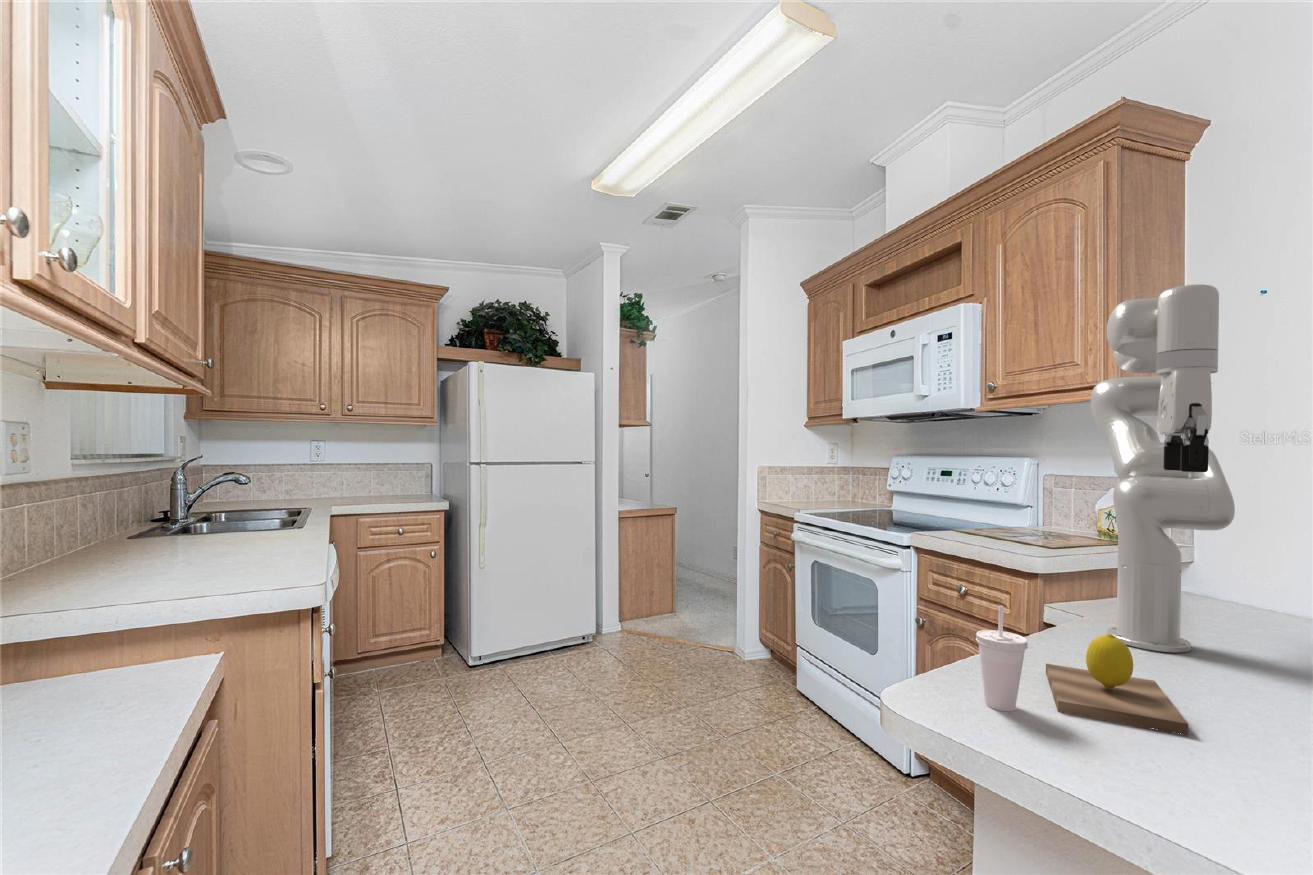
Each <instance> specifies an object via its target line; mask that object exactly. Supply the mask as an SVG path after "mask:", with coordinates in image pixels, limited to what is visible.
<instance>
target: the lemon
mask: <svg viewBox="0 0 1313 875" xmlns="http://www.w3.org/2000/svg"><path fill="white" fill-rule="evenodd" d="M1085 662H1086V663H1085V664H1086V668H1087V670H1089V672H1090V674H1091V675H1092V676H1093V678H1094V679H1096V680H1097V681H1098V682H1100V683H1102V684H1103V685H1104V687H1105V688H1106V689H1113V688H1114V687H1116V686H1121V685H1123V684H1125V683H1126V682H1128V680H1129V679H1130V677H1132V676H1133V672H1134V659H1133V655H1132V653H1131V650H1130V648H1129V647H1128V645H1126V644H1124V643H1123V642H1122V641H1121V640H1119V639H1117V638H1115V637H1114V636H1113V635H1112V634H1107V633H1106V634H1105V635H1101V636H1097V637H1095V638H1094V639H1092V641H1090V643H1089V645H1088V647H1087V650H1086V655H1085Z"/></svg>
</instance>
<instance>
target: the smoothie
mask: <svg viewBox="0 0 1313 875" xmlns="http://www.w3.org/2000/svg"><path fill="white" fill-rule="evenodd" d="M997 623H998V624H997V625H998V628H997V630H996V629H983V630H979V631H977V632H976V634H975V636H976V637H975V641H976V642H977V643H978V649H979V659H980V667H981V677H982V686H983V694H984V697H983V698H984V703H985V705H986V706H987V705H988V706H987V707H988V708H991V709H994V710H997V711H1001V712H1014V711H1015V710H1016V706H1017V700H1018V695H1019V689H1020V681H1021V676H1022V670H1023V664H1024V658H1025V651H1026V650H1027V649H1029V645H1028V639H1027V638H1026V637H1024V636H1022V635H1020V634H1017V633H1013V632H1009V631H1004V606H1003V605H998V622H997Z"/></svg>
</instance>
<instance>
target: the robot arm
mask: <svg viewBox="0 0 1313 875" xmlns="http://www.w3.org/2000/svg"><path fill="white" fill-rule="evenodd" d="M1219 311H1220V293H1219V290H1218V288H1217V287H1215V286H1213V285H1211V284H1210V285H1209V284H1201V283H1199V284H1186V285H1181V286H1175V287H1171V288H1168V289H1166V290H1164V291H1163V292H1161V294H1159V296H1158V297H1147V298H1135V299H1129V300H1124V301H1122V302H1120V303H1119V304H1117V305H1116V307H1114V309H1113V310H1112V312H1111V314H1110V315H1109V317H1108V320H1107V325H1106V339H1107V342H1108V344H1109V347H1110V348H1111V349H1112V351H1113V353H1112V354H1113V360H1114V363H1115V364H1116V365H1117V367H1119V369H1122V370H1123V371H1125V372H1128V373H1133V374H1156V376H1124V377H1114V378H1110V379H1109V378H1108V379H1106V380H1103V381H1100V382H1098V383H1097V384H1096V385H1095V386H1094V387H1093V389H1092V391H1091V394H1090V409H1091V415H1092V418H1093V420H1094V423H1095V425H1096V427H1097V428H1098V430H1099V432H1100V434H1101V435H1102V436H1103V437H1104V438H1105V440H1106V441H1107V443H1108V445H1109V450H1110V453H1111V458H1112V463H1113V466H1114V471H1115V474H1116V476H1117V479H1119V482H1118V483H1116V485H1115V486H1114V489H1113V495H1112V496H1113V498H1112V499H1113V506H1114V507H1113V508H1114V514H1115V519H1116V528H1117V582H1116V583H1117V584H1116V585H1117V586H1116V587H1117V592H1116V593H1117V594H1116V595H1117V597H1116V626H1113V627H1108V628H1107V629H1106V634H1112V635H1113V636H1114V637H1115V638H1117V639H1119V640H1121V641H1122V642H1123V643H1124V644H1126V646H1130V647H1134V648H1138V649H1143V650H1149V651H1154V652H1162V653H1180V654H1181V653H1187V652H1190V651H1191V649H1192V644H1191V642H1190V641H1188V640H1187V639H1185V638H1183V637H1181V616H1182V615H1181V613H1182V605H1181V604H1182V603H1181V601H1182V553H1181V550H1180V548H1179V546H1178V545H1177V544H1176V543H1175V541H1173V539H1172V538H1170V537H1169V536H1168V534H1167V533H1166V532H1165V529H1180V530H1192V531H1195V530H1196V531H1219V530H1220V531H1221V530H1223V529H1226V528H1227V527H1229V526H1230V525H1231V524H1232V522H1233V521H1234V518H1235V513H1236V512H1235V511H1236V509H1235V501H1234V498H1233V494H1232V491H1231V489H1230V486H1229V484H1228V482H1227V478H1226V477H1225V474H1224V472H1223V469H1222V467H1221V464H1220V462H1219V460H1218V457H1217V456H1216V454H1215V452H1214V451H1213V450H1212V449H1210V448H1209V444H1210V441H1209V436H1208V435H1209V431H1211V428H1212V418H1213V415H1212V414H1213V398H1212V397H1213V395H1212V394H1213V393H1212V392H1213V391H1212V378H1211V377H1212V376H1211V374H1216V373H1219V372H1218V371H1219V370H1218V369H1219V336H1220V335H1219V326H1220V322H1219V321H1220V318H1219V317H1220V312H1219ZM1137 416H1138V417H1137ZM1139 416H1141V417H1142V416H1143V417H1144V416H1145V417H1146V416H1147V417H1148V416H1149V417H1151V416H1152V417H1157V424H1156V430H1155V428H1153V427H1152V426H1151V425H1150V424H1148V423H1147V422H1145V421H1144V420H1143V419H1140V418H1139ZM1158 434H1159V435H1162V436H1163V435H1164V441H1160V437H1159V435H1158Z"/></svg>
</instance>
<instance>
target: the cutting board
mask: <svg viewBox="0 0 1313 875" xmlns="http://www.w3.org/2000/svg"><path fill="white" fill-rule="evenodd" d="M1045 675H1046V679H1047V680H1048V685H1049V688H1050V691H1051V695H1052V697H1053V700H1054V701H1053V702H1054V703H1055V708H1056V710H1057V712H1058V713H1064V714H1069V715H1074V716H1075V715H1076V716H1080V717H1085V718H1091V719H1097V720H1101V721H1102V720H1103V721H1106V722H1107V721H1108V722H1113V723H1118V724H1123V725H1128V726H1133V727H1138V728H1139V727H1140V728H1144V727H1145V729H1149V728H1154V729H1158V730H1157V731H1159V730H1163V731H1162V732H1165V731H1167V732H1166V733H1170V732H1175V733H1179V734H1178V735H1181V734H1183V735H1182V736H1186V735H1188V736H1189V723H1188V722H1187V720H1186V719H1185V718H1184V716H1183V714H1181V713H1180V711H1179V710H1178V708H1176V706H1175V705H1174V703H1173V702H1172V701H1171V700H1170V699H1169V697H1168V696H1167V694H1165V692H1164V691H1163V689H1162V688H1161V687H1160V686H1159V685H1158V683H1157V682H1156V680H1153V679H1147V678H1141V677H1133V676H1131V677H1130V679H1129V680H1128V682H1126V683H1125V684H1123V685H1121V686H1116V687H1114V688H1113V689H1106V688H1105V687H1104V685H1103V684H1102V683H1100V682H1098V681H1097V680H1096V679H1094V678H1093V676H1092V675H1091V674H1090V672H1089V670H1088V669H1083V668H1078V667H1071V666H1064V665H1059V664H1058V665H1057V664H1053V663H1052V664H1051V663H1045ZM1154 729H1153V730H1154ZM1175 733H1174V734H1175ZM1180 733H1181V734H1180Z"/></svg>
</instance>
